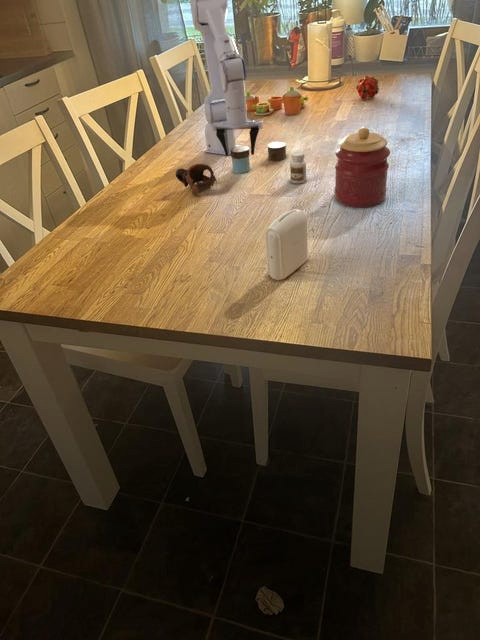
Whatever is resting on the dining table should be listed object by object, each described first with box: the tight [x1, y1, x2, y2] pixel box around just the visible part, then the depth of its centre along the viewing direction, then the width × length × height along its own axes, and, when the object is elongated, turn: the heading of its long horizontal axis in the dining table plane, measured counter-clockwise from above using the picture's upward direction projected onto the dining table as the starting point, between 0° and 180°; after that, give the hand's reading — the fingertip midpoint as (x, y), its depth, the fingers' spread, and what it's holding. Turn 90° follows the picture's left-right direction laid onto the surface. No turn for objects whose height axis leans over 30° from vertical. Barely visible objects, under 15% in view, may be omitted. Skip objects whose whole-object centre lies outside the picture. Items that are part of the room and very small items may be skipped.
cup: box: [231, 155, 251, 174], centre depth 149 cm, size 5×5×4 cm
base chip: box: [267, 151, 287, 162], centre depth 156 cm, size 6×6×2 cm
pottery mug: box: [175, 163, 217, 197], centre depth 140 cm, size 12×10×8 cm
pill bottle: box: [289, 151, 307, 184], centre depth 138 cm, size 4×4×8 cm
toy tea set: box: [245, 85, 309, 117], centre depth 195 cm, size 26×16×10 cm, turn 81°
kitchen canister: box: [334, 126, 391, 208], centre depth 123 cm, size 13×13×18 cm
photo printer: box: [265, 208, 309, 281], centre depth 100 cm, size 10×4×12 cm, turn 140°
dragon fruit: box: [355, 75, 380, 100], centre depth 199 cm, size 8×8×12 cm
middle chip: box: [267, 141, 287, 154], centre depth 154 cm, size 6×6×2 cm
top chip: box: [230, 145, 251, 159], centre depth 147 cm, size 6×6×2 cm
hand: (240, 154), depth 147 cm, fingers open, 7 cm apart
